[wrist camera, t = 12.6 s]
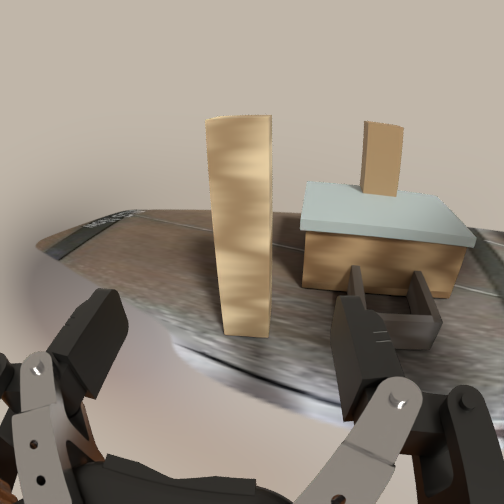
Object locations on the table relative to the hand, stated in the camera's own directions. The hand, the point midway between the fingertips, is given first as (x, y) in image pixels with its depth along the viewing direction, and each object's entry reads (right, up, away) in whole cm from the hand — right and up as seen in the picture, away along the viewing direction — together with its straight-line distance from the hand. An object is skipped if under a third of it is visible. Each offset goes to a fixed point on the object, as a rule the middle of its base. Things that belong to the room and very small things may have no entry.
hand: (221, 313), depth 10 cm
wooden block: (+1, -4, +14) cm, 14 cm away
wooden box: (+14, -1, +18) cm, 23 cm away
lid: (+15, +6, +18) cm, 24 cm away
